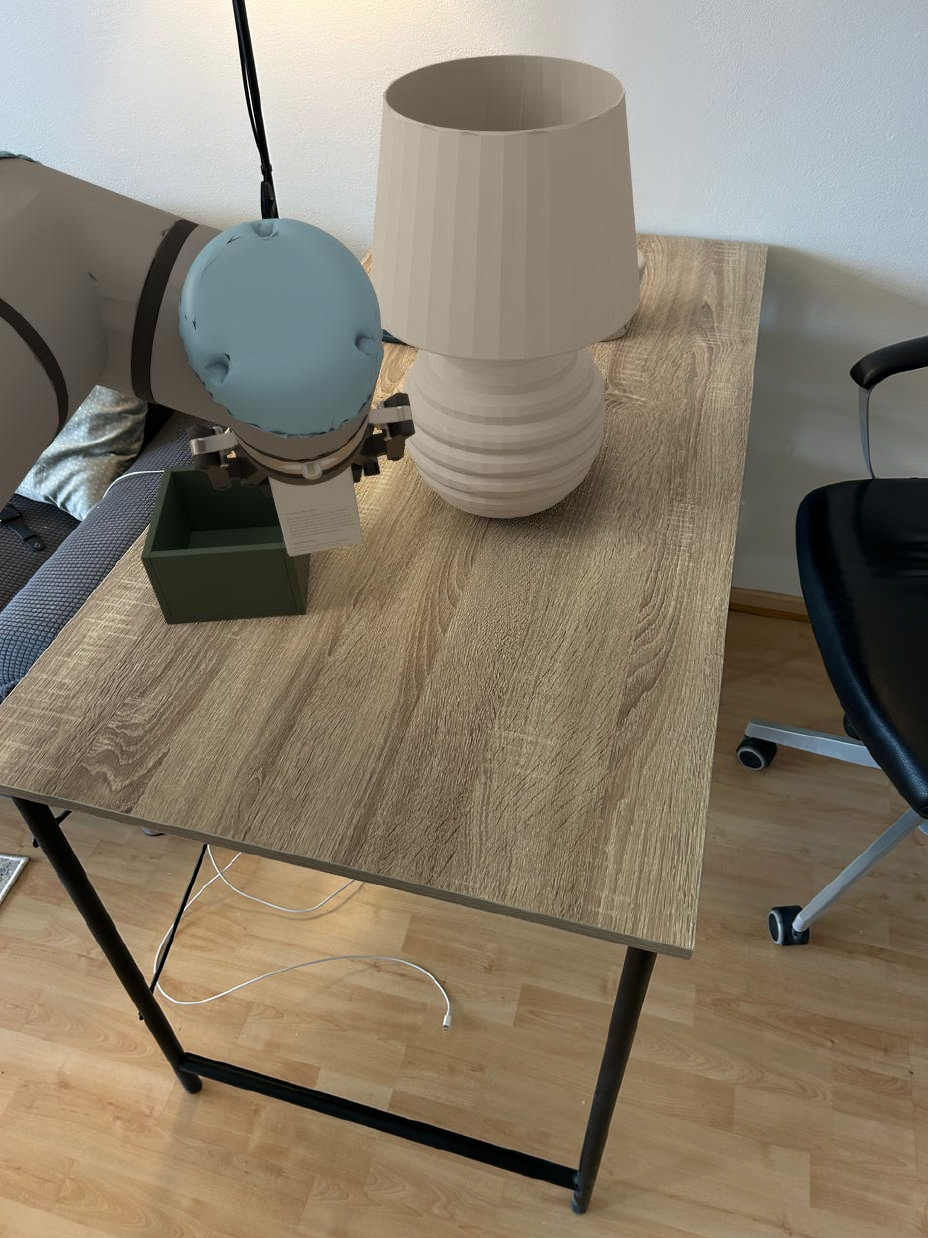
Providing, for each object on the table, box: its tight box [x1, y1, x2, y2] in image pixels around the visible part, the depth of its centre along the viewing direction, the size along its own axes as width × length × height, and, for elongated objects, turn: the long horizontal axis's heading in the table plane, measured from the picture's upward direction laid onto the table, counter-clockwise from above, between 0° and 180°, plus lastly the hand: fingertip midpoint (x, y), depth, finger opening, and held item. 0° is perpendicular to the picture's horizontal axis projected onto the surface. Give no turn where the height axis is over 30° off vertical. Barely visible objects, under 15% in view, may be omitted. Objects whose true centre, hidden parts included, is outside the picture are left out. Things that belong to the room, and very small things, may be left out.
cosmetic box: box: [268, 465, 365, 556], centre depth 66 cm, size 6×4×12 cm
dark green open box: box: [140, 465, 311, 625], centre depth 89 cm, size 14×14×9 cm
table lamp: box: [369, 53, 641, 520], centre depth 86 cm, size 25×25×40 cm
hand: (309, 472), depth 70 cm, fingers closed on cosmetic box, 6 cm apart
